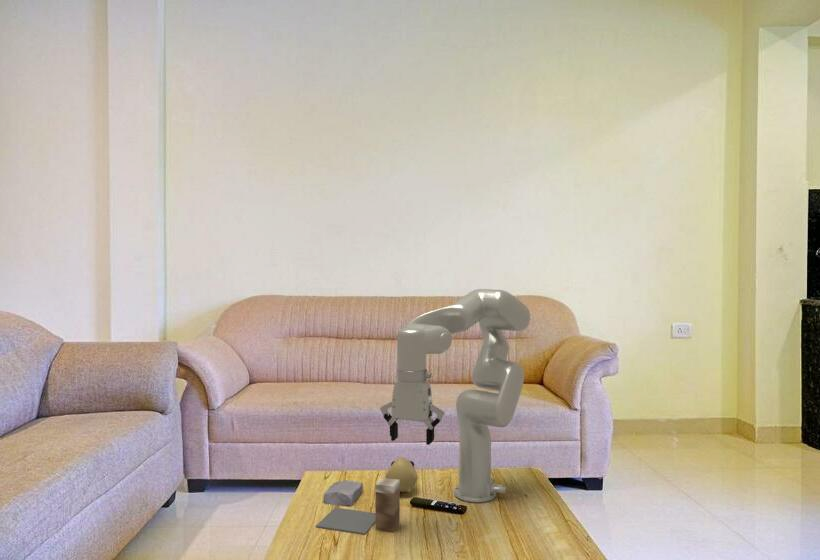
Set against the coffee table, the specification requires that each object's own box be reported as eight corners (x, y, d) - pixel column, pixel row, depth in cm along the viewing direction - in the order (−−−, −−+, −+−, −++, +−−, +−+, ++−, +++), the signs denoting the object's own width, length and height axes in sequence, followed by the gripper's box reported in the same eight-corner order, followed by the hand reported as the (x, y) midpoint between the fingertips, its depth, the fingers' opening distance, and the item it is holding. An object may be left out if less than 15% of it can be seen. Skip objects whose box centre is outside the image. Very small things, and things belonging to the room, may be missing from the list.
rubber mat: (381, 515, 158) (381, 513, 158) (365, 534, 146) (365, 533, 146) (335, 508, 162) (335, 507, 162) (315, 527, 151) (315, 525, 151)
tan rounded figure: (419, 484, 181) (419, 450, 180) (416, 499, 169) (416, 463, 168) (388, 482, 182) (388, 449, 181) (383, 498, 170) (383, 462, 169)
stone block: (321, 511, 165) (354, 507, 163) (318, 494, 165) (351, 490, 163) (335, 496, 177) (366, 492, 175) (332, 480, 177) (363, 476, 175)
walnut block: (399, 524, 153) (399, 479, 152) (393, 532, 148) (393, 486, 148) (382, 521, 154) (382, 477, 154) (375, 529, 149) (375, 484, 149)
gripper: (447, 375, 148) (447, 440, 149) (386, 371, 154) (386, 433, 155) (439, 381, 141) (439, 449, 142) (375, 376, 147) (375, 442, 148)
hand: (411, 441), depth 148 cm, fingers open, 9 cm apart
